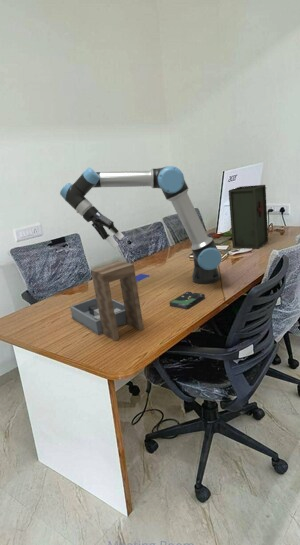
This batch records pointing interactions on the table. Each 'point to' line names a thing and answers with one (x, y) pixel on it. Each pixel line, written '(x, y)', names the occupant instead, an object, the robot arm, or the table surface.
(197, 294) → the disk drive
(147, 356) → the table surface
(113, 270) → the bridge
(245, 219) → the first aid box
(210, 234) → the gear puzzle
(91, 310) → the t handle
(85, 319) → the tray
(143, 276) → the hard drive
